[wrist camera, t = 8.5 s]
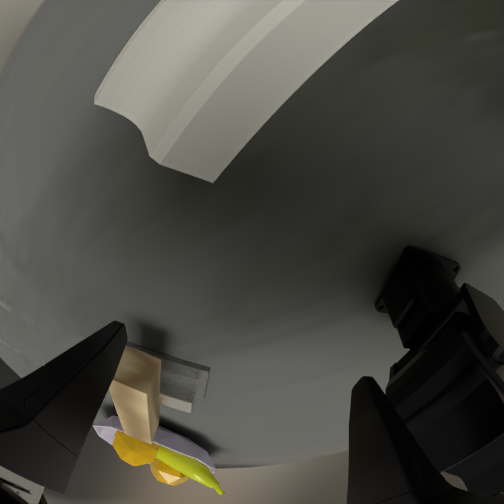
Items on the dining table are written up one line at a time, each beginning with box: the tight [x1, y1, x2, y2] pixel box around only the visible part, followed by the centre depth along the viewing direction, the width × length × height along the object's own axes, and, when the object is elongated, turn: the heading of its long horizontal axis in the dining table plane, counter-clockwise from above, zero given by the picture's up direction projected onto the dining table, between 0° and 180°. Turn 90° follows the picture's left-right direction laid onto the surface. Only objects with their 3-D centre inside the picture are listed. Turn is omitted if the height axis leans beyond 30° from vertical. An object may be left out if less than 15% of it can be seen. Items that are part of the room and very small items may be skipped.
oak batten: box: [109, 346, 161, 444], centre depth 25 cm, size 4×18×4 cm, turn 164°
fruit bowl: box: [93, 416, 224, 495], centre depth 41 cm, size 28×27×11 cm
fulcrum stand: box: [126, 342, 210, 413], centre depth 29 cm, size 14×8×4 cm, turn 78°
